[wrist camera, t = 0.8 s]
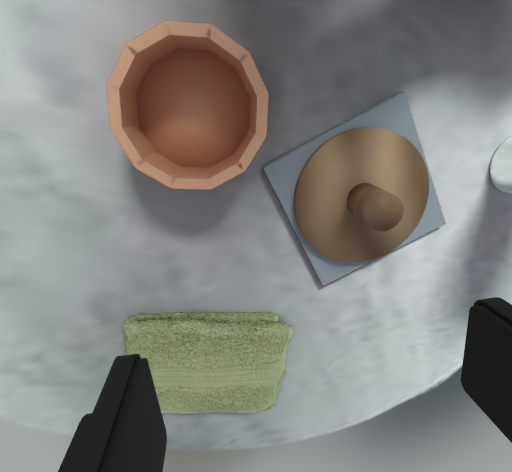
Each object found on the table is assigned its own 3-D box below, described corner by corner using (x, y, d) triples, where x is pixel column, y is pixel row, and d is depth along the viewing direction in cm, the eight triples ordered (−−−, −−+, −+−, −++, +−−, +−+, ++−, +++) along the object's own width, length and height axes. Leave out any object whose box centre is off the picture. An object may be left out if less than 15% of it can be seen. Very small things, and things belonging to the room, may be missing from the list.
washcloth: (275, 400, 43) (280, 422, 40) (127, 400, 40) (119, 424, 37) (291, 309, 38) (297, 326, 35) (125, 302, 36) (117, 320, 33)
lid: (400, 100, 31) (436, 98, 26) (439, 221, 35) (476, 240, 30) (270, 170, 31) (280, 181, 26) (325, 280, 36) (343, 307, 31)
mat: (399, 92, 31) (404, 91, 30) (441, 221, 36) (445, 223, 35) (262, 166, 32) (263, 168, 31) (321, 282, 37) (323, 286, 36)
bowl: (219, 12, 28) (219, -12, 22) (278, 138, 31) (292, 145, 26) (101, 80, 28) (73, 74, 23) (174, 195, 32) (165, 214, 27)
